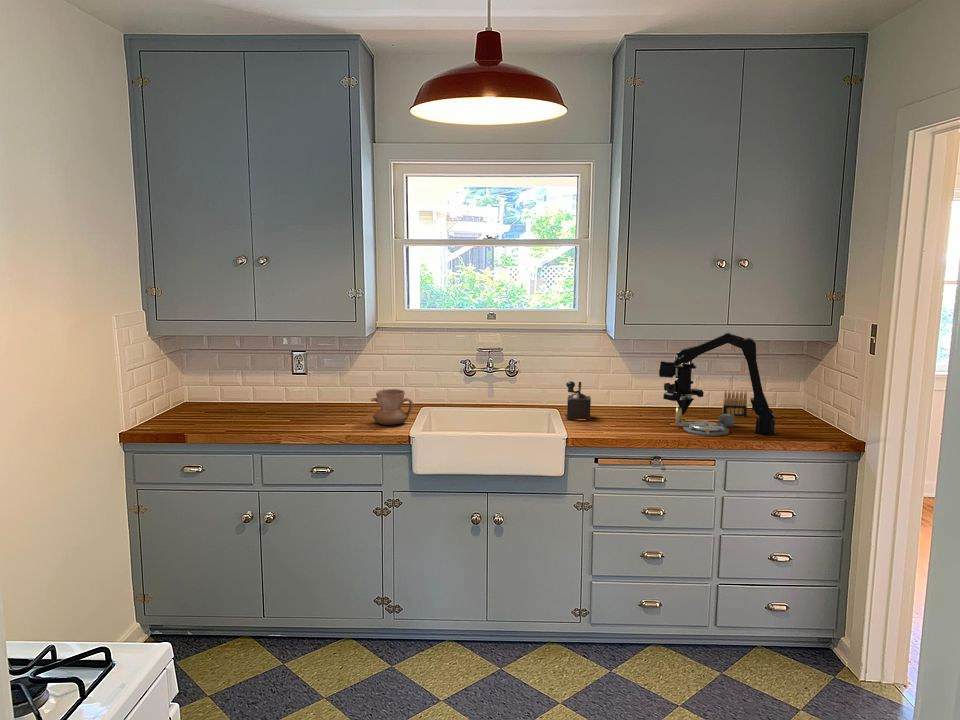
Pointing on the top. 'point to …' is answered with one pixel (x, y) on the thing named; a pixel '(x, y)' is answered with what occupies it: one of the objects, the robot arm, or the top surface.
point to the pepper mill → (577, 403)
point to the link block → (726, 420)
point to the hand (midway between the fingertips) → (682, 414)
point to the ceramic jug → (391, 407)
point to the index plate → (703, 433)
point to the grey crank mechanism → (698, 423)
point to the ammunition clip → (735, 404)
